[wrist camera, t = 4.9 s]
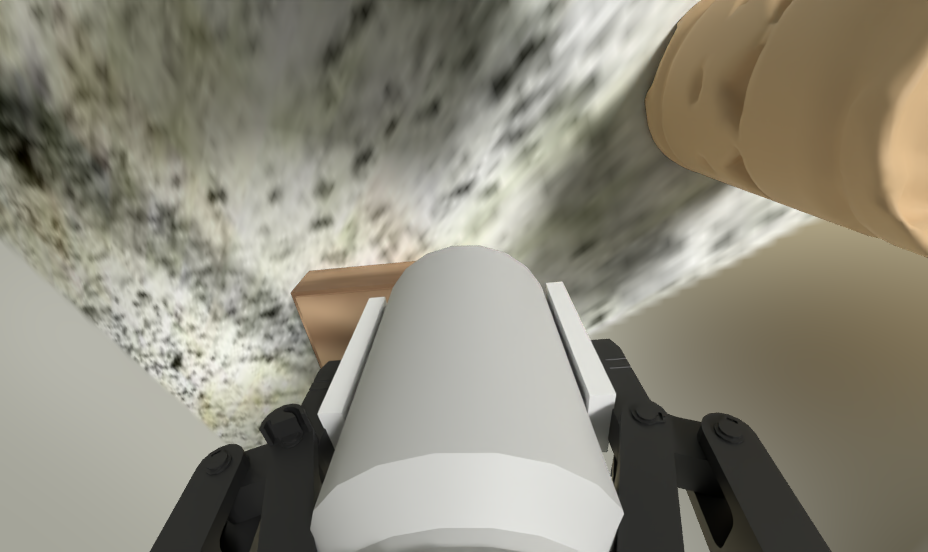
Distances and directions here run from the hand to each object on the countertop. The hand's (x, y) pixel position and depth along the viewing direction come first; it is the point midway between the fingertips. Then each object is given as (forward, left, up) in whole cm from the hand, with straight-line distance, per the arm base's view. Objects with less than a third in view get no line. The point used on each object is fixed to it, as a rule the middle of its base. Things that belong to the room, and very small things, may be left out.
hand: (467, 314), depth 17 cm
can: (0, 0, -1) cm, 1 cm away
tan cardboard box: (+10, -10, -16) cm, 21 cm away
